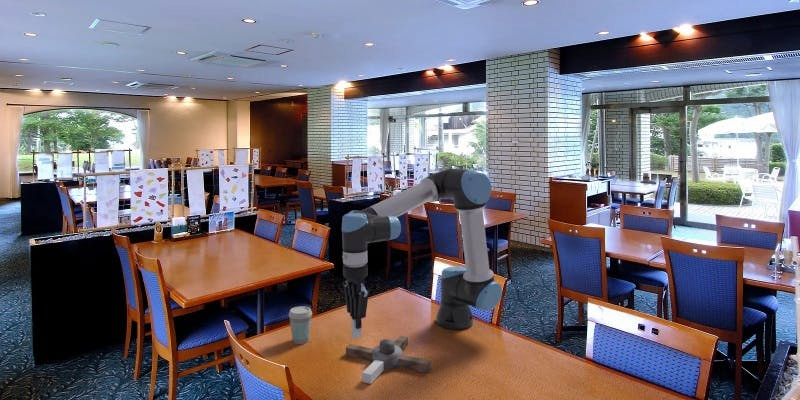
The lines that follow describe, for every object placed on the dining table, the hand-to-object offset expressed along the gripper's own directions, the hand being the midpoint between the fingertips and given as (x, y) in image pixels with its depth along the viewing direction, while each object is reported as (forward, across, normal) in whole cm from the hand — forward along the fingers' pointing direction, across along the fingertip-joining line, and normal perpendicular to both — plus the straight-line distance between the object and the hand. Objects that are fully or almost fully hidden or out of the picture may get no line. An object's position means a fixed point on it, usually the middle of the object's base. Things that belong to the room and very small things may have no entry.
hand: (356, 337), depth 141 cm
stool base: (+13, -2, +12) cm, 18 cm away
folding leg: (+12, +4, +3) cm, 13 cm away
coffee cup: (+13, -33, -5) cm, 36 cm away
